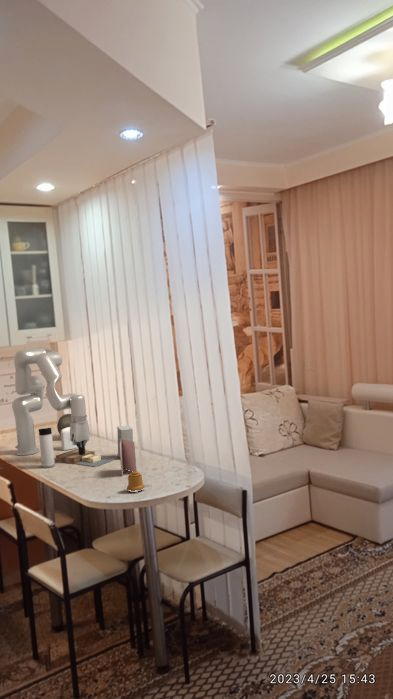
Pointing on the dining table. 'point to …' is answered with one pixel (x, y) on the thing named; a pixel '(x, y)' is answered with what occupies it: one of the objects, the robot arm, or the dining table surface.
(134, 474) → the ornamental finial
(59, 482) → the dining table surface
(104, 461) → the mat
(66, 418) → the cantaloupe
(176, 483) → the dining table surface
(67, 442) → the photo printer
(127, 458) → the greeting card
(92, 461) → the cream rectangular block
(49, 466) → the travel mug
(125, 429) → the skincare box
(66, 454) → the tan flat square block
